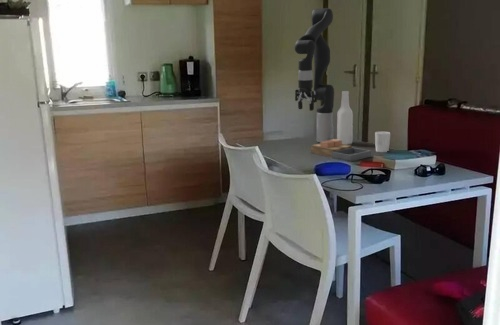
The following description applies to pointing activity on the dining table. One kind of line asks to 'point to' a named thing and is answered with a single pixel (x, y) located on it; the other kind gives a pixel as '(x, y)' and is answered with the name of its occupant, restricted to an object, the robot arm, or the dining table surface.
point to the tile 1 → (327, 144)
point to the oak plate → (327, 149)
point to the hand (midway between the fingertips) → (305, 109)
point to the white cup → (382, 141)
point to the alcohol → (345, 120)
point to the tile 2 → (336, 142)
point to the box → (351, 154)
